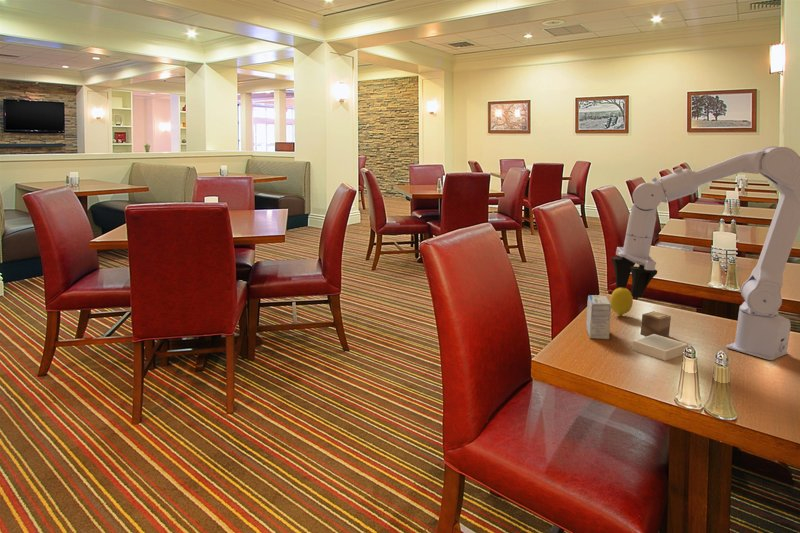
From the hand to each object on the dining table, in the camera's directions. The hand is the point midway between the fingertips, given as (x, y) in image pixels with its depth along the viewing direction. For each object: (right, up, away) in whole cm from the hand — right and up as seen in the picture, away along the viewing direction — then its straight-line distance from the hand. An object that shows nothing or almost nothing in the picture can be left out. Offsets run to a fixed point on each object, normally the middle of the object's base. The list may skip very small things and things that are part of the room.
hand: (628, 292), depth 134 cm
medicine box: (-6, -10, +3) cm, 13 cm away
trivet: (+3, -13, -8) cm, 16 cm away
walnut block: (+7, -10, +2) cm, 13 cm away
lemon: (+5, -7, +17) cm, 19 cm away
